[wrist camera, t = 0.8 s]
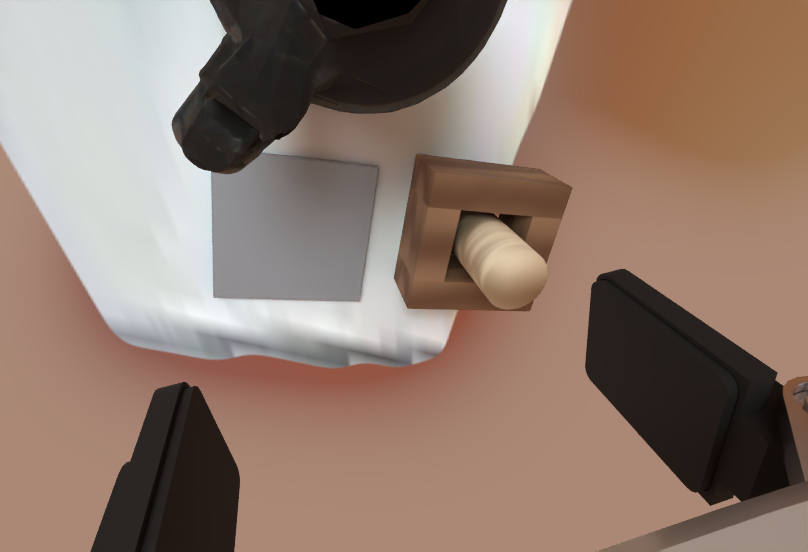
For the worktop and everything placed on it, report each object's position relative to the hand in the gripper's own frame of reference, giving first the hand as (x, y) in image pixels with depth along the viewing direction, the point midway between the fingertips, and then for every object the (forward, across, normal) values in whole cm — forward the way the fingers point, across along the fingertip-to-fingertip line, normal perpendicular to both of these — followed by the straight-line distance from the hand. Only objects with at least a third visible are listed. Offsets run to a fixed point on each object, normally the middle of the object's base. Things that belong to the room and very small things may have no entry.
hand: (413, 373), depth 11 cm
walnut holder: (+33, -13, +12) cm, 37 cm away
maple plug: (+33, -13, +12) cm, 37 cm away
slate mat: (+33, +4, +9) cm, 35 cm away
